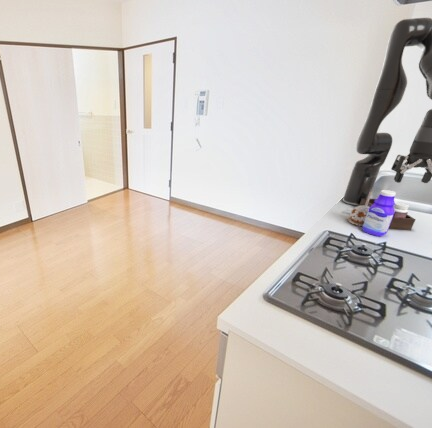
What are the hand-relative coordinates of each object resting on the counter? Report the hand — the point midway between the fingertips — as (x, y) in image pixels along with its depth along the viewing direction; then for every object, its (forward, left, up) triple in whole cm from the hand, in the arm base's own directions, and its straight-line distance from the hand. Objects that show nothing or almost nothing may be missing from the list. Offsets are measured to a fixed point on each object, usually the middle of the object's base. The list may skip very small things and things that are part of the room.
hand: (410, 182), depth 107 cm
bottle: (+10, -9, -19) cm, 23 cm away
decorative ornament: (+2, -11, -19) cm, 22 cm away
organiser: (-7, -1, -19) cm, 20 cm away
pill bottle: (0, 0, -18) cm, 18 cm away
